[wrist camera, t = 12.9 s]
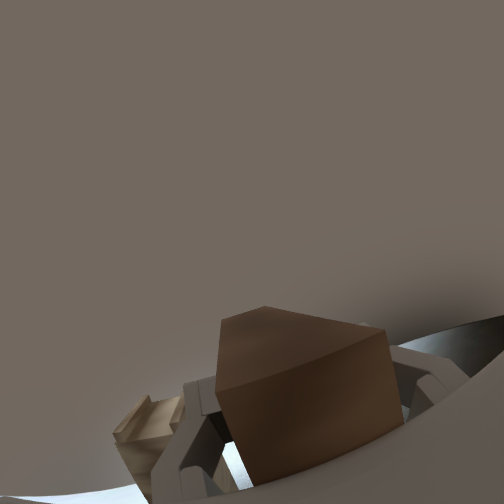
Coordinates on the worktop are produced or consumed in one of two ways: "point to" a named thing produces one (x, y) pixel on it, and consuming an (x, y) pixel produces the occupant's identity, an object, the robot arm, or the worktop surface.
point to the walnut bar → (302, 389)
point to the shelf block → (156, 441)
